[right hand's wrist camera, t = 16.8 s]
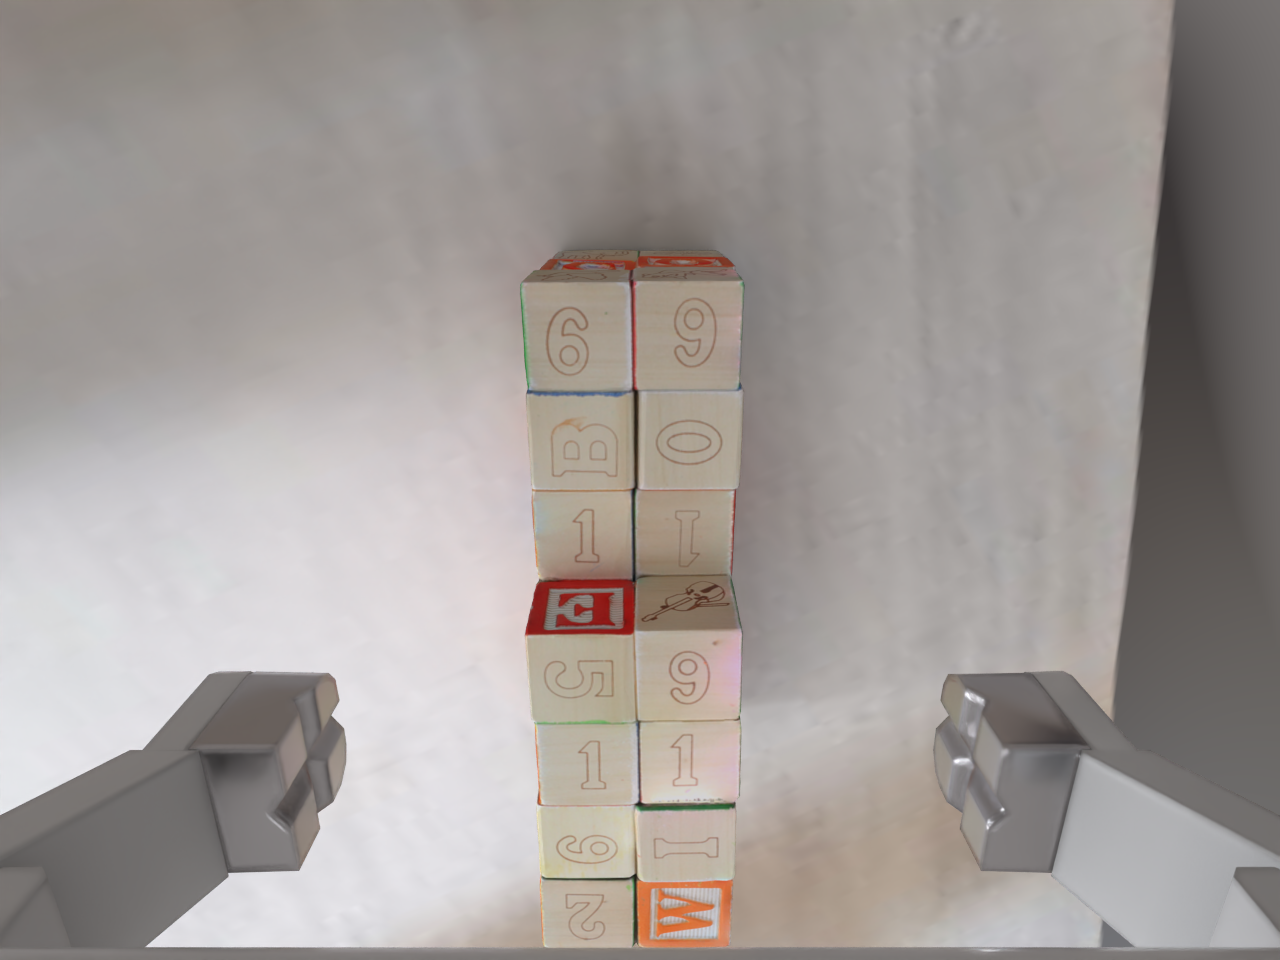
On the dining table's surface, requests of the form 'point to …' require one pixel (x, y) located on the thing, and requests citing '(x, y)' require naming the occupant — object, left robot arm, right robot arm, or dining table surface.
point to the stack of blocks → (635, 593)
